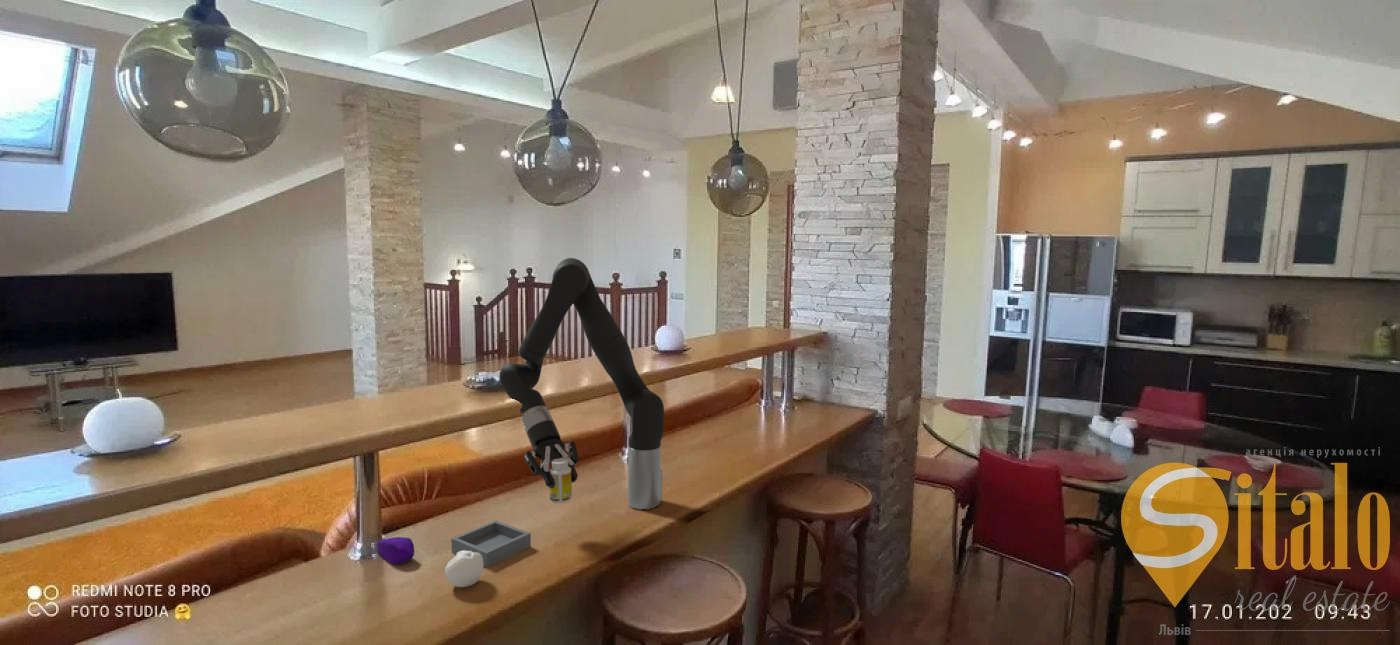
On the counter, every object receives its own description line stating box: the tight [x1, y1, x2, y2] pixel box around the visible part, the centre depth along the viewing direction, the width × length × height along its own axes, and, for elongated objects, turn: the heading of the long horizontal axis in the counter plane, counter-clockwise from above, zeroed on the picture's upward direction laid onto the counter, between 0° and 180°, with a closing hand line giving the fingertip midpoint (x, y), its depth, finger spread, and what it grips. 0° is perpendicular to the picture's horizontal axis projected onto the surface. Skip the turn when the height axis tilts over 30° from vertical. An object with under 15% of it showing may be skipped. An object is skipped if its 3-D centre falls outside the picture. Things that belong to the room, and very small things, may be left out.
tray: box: [450, 519, 532, 568], centre depth 157 cm, size 13×13×4 cm
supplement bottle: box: [548, 457, 573, 504], centre depth 164 cm, size 6×6×10 cm
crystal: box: [377, 536, 415, 566], centre depth 153 cm, size 5×5×15 cm
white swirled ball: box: [444, 551, 484, 588], centre depth 140 cm, size 8×8×8 cm
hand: (563, 483), depth 163 cm, fingers closed on supplement bottle, 5 cm apart
